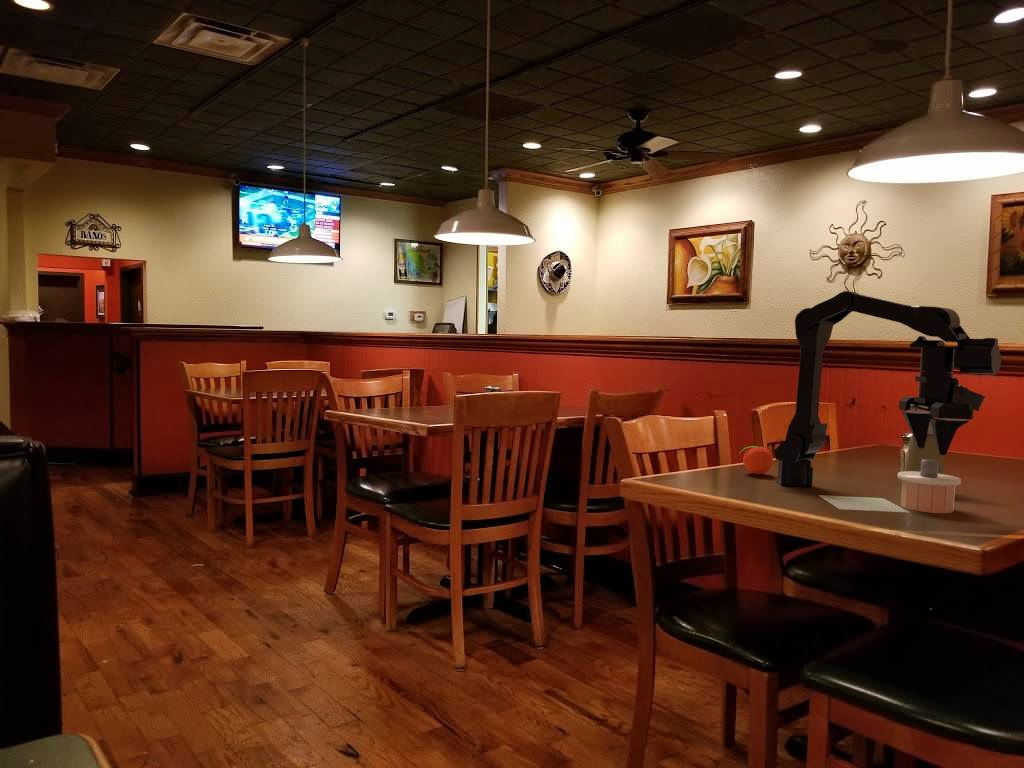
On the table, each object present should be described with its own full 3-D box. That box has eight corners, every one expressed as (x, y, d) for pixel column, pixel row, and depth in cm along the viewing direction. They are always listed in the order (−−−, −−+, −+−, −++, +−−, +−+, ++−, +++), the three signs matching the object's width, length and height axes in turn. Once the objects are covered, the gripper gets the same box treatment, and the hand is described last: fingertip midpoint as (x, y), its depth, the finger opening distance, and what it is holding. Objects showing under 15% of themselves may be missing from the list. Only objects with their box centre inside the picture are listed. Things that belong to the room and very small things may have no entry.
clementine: (738, 475, 186) (740, 446, 185) (737, 470, 192) (738, 442, 192) (773, 478, 184) (775, 448, 183) (770, 473, 191) (772, 444, 190)
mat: (839, 512, 148) (839, 508, 148) (818, 498, 161) (818, 495, 161) (909, 515, 147) (910, 512, 147) (882, 501, 160) (883, 498, 160)
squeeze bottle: (928, 486, 180) (934, 409, 179) (951, 493, 172) (957, 412, 171) (895, 485, 179) (900, 408, 178) (916, 492, 171) (922, 411, 170)
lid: (912, 484, 147) (913, 463, 147) (888, 474, 158) (889, 454, 158) (972, 486, 146) (973, 466, 146) (944, 476, 157) (945, 457, 157)
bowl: (913, 514, 148) (915, 483, 148) (893, 504, 157) (895, 475, 157) (961, 516, 147) (964, 485, 147) (939, 506, 156) (941, 477, 156)
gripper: (1006, 375, 141) (1000, 460, 141) (955, 371, 159) (951, 446, 160) (942, 373, 141) (937, 458, 142) (899, 369, 160) (895, 444, 161)
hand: (931, 451), depth 151 cm, fingers open, 9 cm apart
